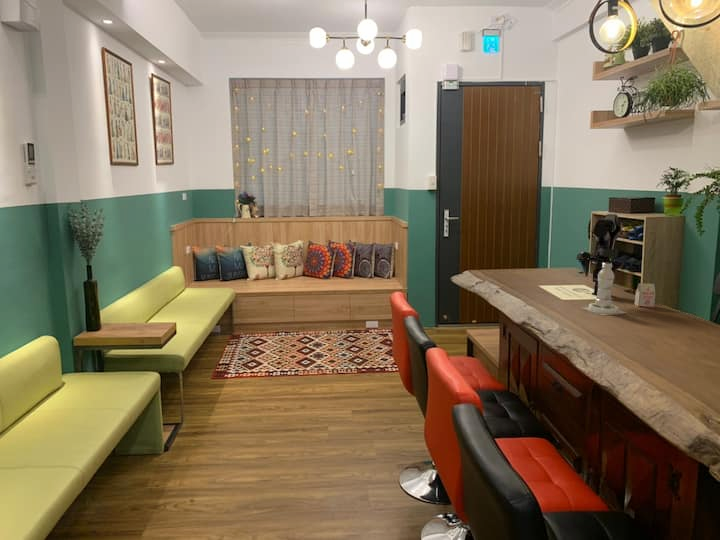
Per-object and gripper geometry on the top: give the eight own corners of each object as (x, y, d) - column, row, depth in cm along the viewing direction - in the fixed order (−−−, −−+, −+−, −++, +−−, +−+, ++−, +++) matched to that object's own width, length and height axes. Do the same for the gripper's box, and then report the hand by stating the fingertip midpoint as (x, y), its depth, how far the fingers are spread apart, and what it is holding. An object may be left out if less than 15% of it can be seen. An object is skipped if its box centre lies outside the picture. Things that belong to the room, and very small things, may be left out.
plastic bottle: (607, 308, 245) (611, 261, 242) (613, 312, 239) (618, 264, 235) (591, 307, 245) (596, 261, 242) (597, 311, 239) (602, 264, 235)
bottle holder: (602, 306, 250) (602, 301, 250) (626, 313, 238) (627, 308, 238) (579, 308, 245) (579, 303, 245) (603, 315, 233) (603, 310, 233)
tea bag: (634, 304, 254) (636, 282, 252) (649, 305, 254) (652, 283, 252) (638, 306, 250) (640, 284, 248) (653, 307, 250) (656, 284, 248)
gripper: (589, 235, 248) (583, 270, 245) (631, 246, 248) (626, 280, 245) (578, 242, 259) (573, 275, 256) (619, 252, 259) (613, 285, 256)
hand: (596, 278), depth 253 cm, fingers open, 9 cm apart
